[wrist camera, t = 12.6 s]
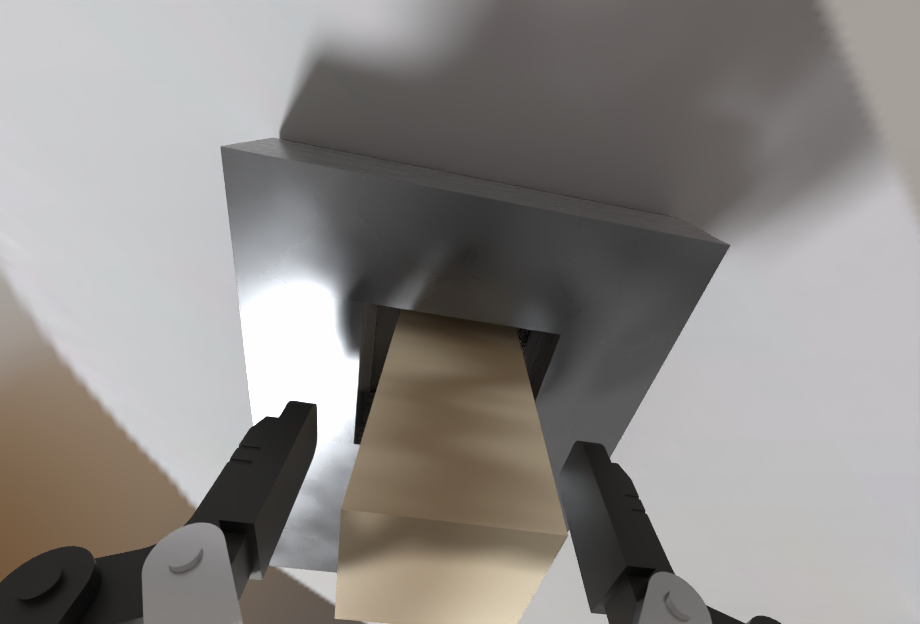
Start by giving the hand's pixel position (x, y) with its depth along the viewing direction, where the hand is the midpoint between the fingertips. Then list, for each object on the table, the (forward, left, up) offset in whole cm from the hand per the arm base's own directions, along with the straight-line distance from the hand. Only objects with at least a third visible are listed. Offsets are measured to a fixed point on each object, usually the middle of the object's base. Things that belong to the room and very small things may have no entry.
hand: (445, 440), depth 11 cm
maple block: (0, 0, -5) cm, 5 cm away
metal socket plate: (0, +3, -5) cm, 6 cm away
